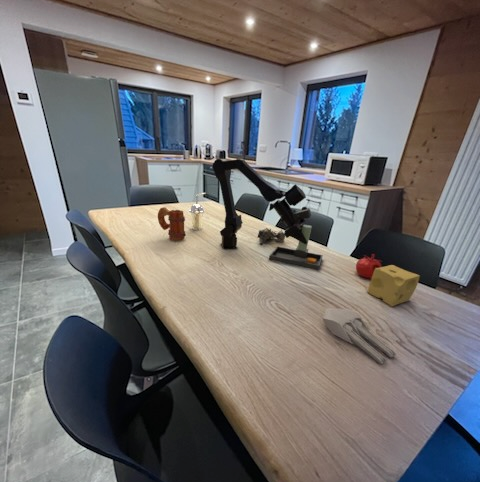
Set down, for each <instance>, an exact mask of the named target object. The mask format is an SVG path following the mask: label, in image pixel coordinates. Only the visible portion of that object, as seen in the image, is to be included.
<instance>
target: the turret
mask: <svg viewBox="0 0 480 482" xmlns="http://www.w3.org/2000/svg"><path fill="white" fill-rule="evenodd" d="M322 321H323V323H324V325H325V326H326V328H327V329H328V330H329V331H330V333H332V334H333V335H334V336H336V337H338V338H340V339H342V340H344V341H346V342H348V343H350V344H351V345H356V346H358V347H359V348H361V349H363V350H364V352H366V354H368V355H369V356H370V357H371V358H373V360H375V361H376V362H377V363H378V364H381V365H383V364H384V362H387V361H388V360H387V359H386V357H384V356H383V355H382V354H381V353H380V352H379V351H377V350H376V349H375V348H374V347H372V346H371V345H370V344H369V343H367V341H368V342H370V343H372V344H373V346H375V347H377V348H378V349H379V350H380V351H381V352H383V353H384V354H385V355H386V356H388V357H389V358H391V359H392V358H393V357H394V356H396V352H395V350H393V349H391V347H390V346H388V345H387V344H386V343H384V342H383V341H381V340H380V339H379V338H378V337H377V336H375V335H374V334H373V333H372V332H371V331H370V329H369V328H368V326H367V324H366V323H365V322H364V320H363V318H362V317H361V316H360V313H358V312H357V311H356V310H353V309H347V308H336V307H335V308H334V307H327V308H326V311H325V313H324V314H323V317H322Z"/></svg>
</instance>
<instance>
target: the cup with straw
mask: <svg viewBox="0 0 480 482" xmlns="http://www.w3.org/2000/svg"><path fill="white" fill-rule="evenodd" d="M206 194H207V193H206V192H201V193H197V194H196V195H195V204H193V205H192V206H191V207H190V208H189V210H188V212H189V214H190V218H191V225H192V230H195V231H199V230H201V229H202V223H203V216H204V214H205V210H204V208H203V206H202V205H201V204H198V196H202V195H206Z"/></svg>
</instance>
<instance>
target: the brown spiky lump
mask: <svg viewBox="0 0 480 482" xmlns="http://www.w3.org/2000/svg"><path fill="white" fill-rule="evenodd" d="M256 237H257V239H259V240H258V241H259V244H260V243H261V245H262V246H263V245H264V244H266V242H267V240H270V241H271V240H272V239H276V241H277V242H280V243H284V241H285V238H286V236H285V235H284V231H283V229H280V230H279V231H277V230H276V231H274V230H272V228H271V227H270V228H268V227H266V228H264V229H259V230H258V234H257V236H256Z"/></svg>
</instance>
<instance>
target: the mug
mask: <svg viewBox="0 0 480 482" xmlns="http://www.w3.org/2000/svg"><path fill="white" fill-rule="evenodd" d="M166 216H168V219H167V220H168V222H169V223H168V222H167V221H166V219H165V218H166ZM157 221H158V224H159V226H160V227H161V228H162V230H163V231H167V230H168V231H167V232H168V233H167V234H168V237H169V239H170V240H171V241H174V242H178V241H183V240H184V239H185V237H186V236H187V234H186V230H185V221H186V217H185V216H184V211H183V210H181V209H175V210H174V209H171V210H169V209H168V208H167V207H166V206H165V207H164V206H163V207H160V208H159V209H158V212H157Z"/></svg>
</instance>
